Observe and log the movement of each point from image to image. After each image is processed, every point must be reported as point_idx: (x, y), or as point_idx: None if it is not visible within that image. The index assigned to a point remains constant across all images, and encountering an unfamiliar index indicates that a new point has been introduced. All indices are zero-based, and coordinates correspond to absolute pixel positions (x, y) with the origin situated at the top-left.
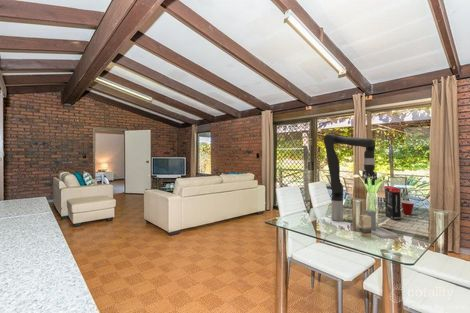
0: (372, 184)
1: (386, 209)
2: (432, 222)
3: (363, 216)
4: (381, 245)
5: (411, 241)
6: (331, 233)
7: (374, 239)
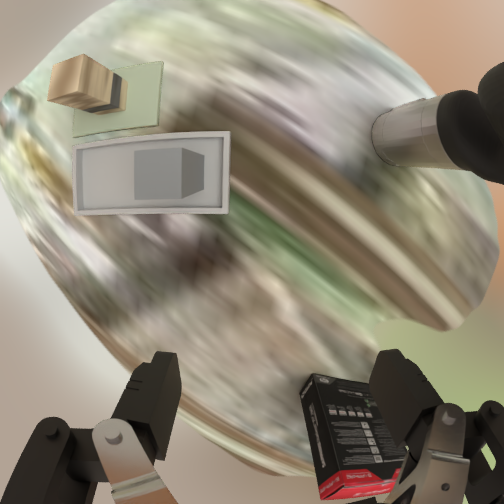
0: (154, 360)
1: (372, 400)
2: (247, 441)
3: (59, 64)
4: (50, 117)
5: (63, 241)
6: (198, 3)
7: (77, 113)
